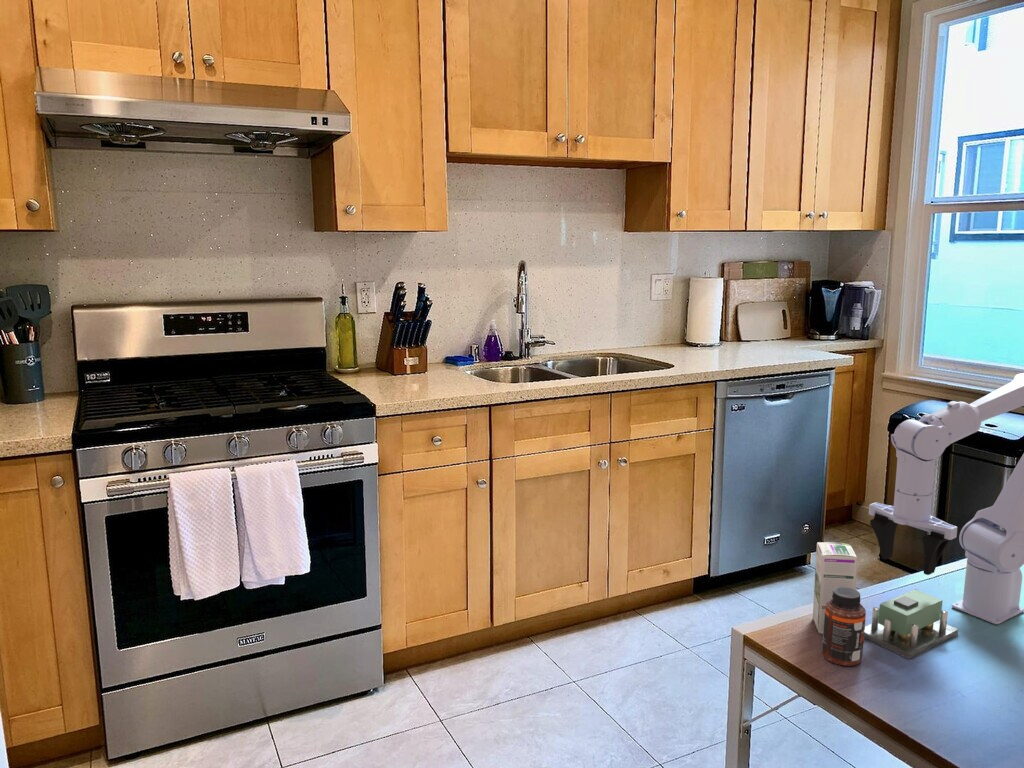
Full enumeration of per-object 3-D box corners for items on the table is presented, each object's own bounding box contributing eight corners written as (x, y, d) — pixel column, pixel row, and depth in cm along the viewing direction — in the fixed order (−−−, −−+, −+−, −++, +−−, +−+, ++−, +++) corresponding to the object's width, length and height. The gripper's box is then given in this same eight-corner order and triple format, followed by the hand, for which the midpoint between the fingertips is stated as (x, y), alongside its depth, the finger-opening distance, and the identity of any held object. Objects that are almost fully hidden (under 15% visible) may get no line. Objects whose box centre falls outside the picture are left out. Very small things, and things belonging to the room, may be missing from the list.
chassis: (906, 613, 138) (909, 589, 137) (957, 634, 130) (960, 610, 129) (858, 634, 131) (859, 610, 130) (908, 659, 123) (911, 633, 122)
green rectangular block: (913, 608, 134) (915, 586, 134) (940, 619, 130) (942, 596, 130) (878, 623, 129) (880, 600, 128) (905, 635, 125) (907, 612, 124)
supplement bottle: (867, 668, 120) (873, 601, 118) (828, 667, 121) (833, 600, 119) (854, 648, 126) (860, 584, 124) (817, 647, 127) (821, 583, 125)
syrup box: (853, 637, 130) (860, 556, 127) (816, 634, 131) (822, 554, 128) (846, 621, 135) (852, 542, 132) (810, 618, 136) (815, 540, 134)
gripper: (860, 483, 136) (855, 556, 138) (943, 507, 124) (936, 586, 126) (884, 476, 139) (878, 547, 142) (966, 498, 127) (959, 575, 130)
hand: (907, 565), depth 134 cm, fingers open, 7 cm apart
